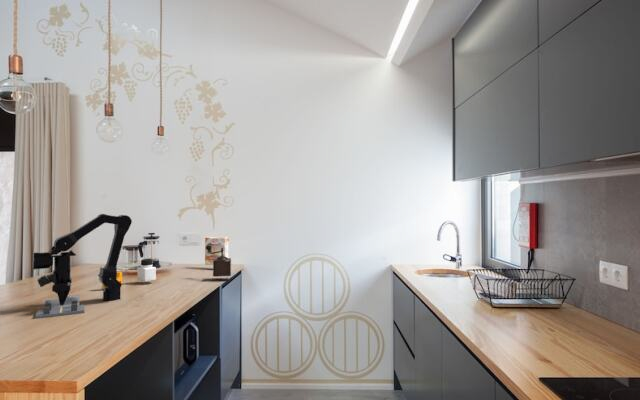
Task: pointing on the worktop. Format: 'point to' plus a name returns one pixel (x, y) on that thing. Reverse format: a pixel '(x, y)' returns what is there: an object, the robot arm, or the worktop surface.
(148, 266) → the medicine bottle
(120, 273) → the pipe clamp
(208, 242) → the coffeecake box
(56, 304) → the shiny metal block
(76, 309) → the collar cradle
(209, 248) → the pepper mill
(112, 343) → the worktop surface
